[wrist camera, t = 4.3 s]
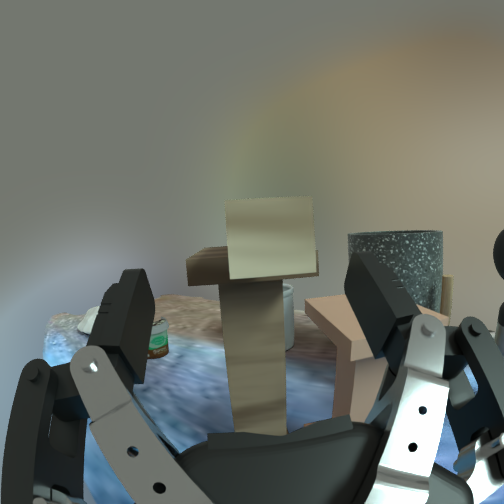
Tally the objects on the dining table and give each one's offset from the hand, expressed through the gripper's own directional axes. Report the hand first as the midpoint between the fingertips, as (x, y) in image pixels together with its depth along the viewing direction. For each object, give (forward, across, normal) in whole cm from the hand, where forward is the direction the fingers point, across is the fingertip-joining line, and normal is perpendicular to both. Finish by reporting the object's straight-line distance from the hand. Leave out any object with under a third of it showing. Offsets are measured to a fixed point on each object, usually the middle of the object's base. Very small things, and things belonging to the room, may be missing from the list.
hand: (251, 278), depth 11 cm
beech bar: (+11, +1, -7) cm, 13 cm away
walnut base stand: (-1, +1, -37) cm, 37 cm away
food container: (+38, -24, -61) cm, 75 cm away
